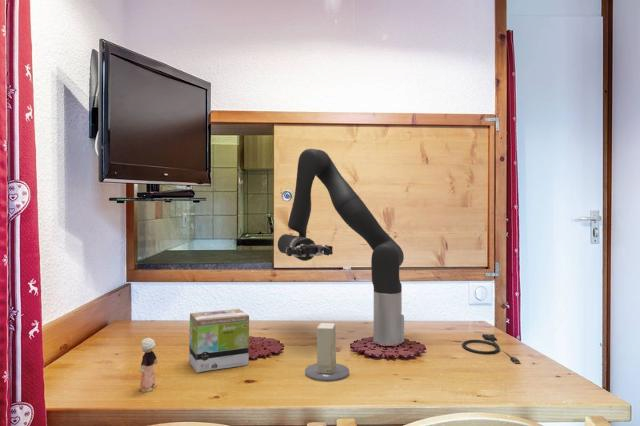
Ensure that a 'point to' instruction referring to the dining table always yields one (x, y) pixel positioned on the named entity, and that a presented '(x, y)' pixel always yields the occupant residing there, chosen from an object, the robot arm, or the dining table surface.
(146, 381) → the grandmother figurine
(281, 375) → the dining table surface
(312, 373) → the coaster
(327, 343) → the skincare box
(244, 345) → the tea box
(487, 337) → the cable
